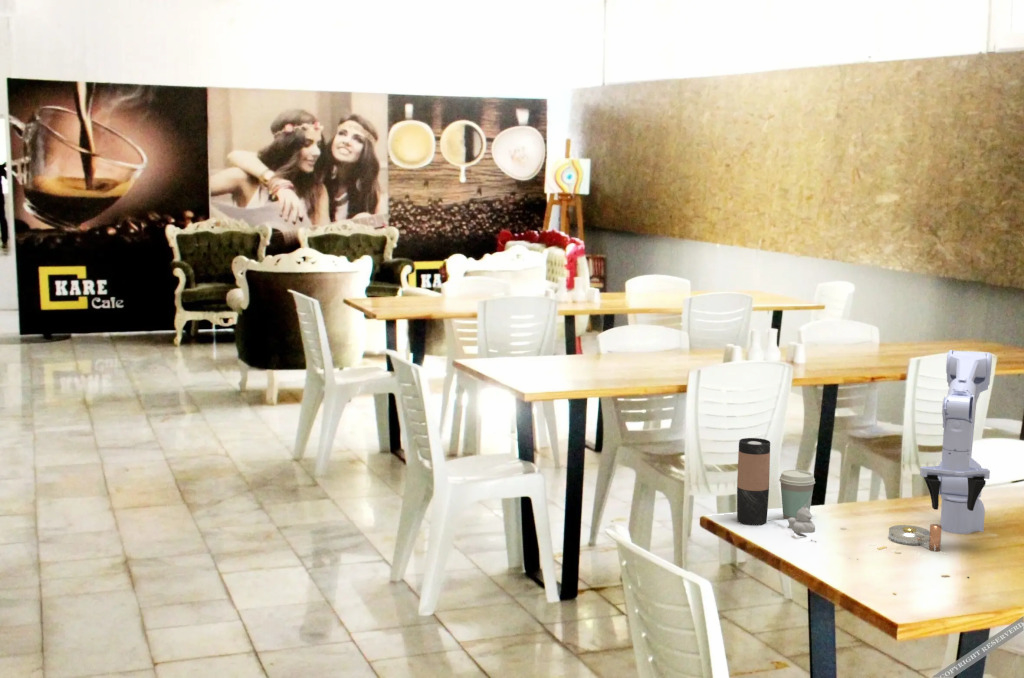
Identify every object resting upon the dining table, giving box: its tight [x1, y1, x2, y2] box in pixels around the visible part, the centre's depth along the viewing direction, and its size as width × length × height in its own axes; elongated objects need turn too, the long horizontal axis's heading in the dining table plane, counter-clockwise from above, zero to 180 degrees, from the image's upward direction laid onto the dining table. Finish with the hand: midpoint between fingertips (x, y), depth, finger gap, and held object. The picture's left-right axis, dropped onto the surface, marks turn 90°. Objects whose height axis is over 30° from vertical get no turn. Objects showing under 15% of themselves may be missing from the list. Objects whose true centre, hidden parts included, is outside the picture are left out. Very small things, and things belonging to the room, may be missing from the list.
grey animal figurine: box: [787, 504, 816, 538], centre depth 276 cm, size 5×7×8 cm
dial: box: [888, 523, 942, 552], centre depth 267 cm, size 14×9×6 cm, turn 23°
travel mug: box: [736, 437, 771, 526], centre depth 287 cm, size 8×8×20 cm
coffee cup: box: [778, 469, 816, 520], centre depth 287 cm, size 8×9×12 cm
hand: (952, 509), depth 262 cm, fingers open, 7 cm apart
